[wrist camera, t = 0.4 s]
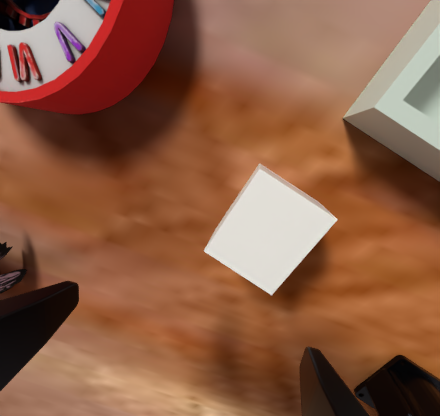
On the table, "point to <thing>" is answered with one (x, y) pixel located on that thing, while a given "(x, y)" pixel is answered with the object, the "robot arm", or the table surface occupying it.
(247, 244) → the block
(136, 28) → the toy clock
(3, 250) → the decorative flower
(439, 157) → the walled box
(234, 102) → the table surface
